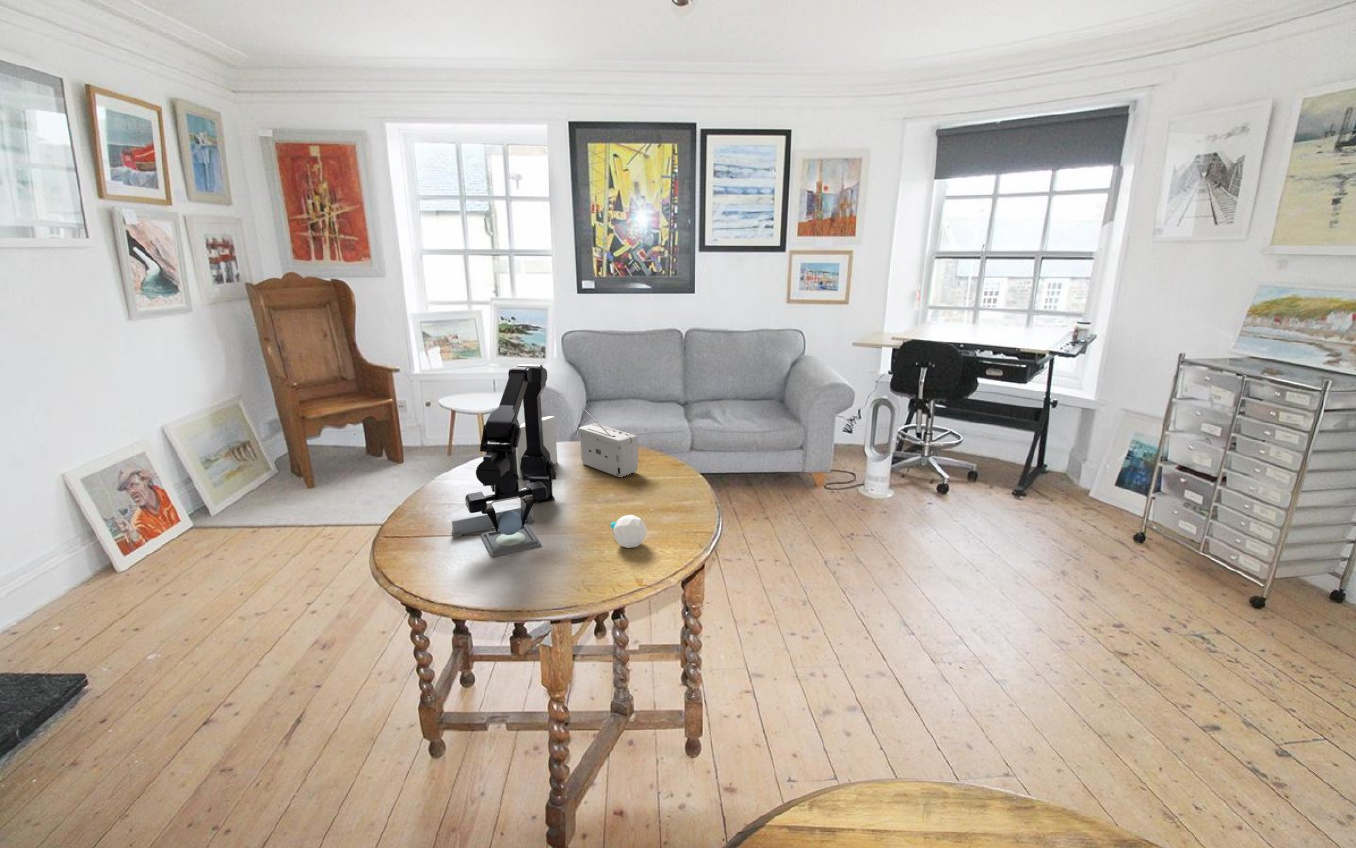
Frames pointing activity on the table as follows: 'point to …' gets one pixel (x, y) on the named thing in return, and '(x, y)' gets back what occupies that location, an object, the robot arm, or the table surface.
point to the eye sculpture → (548, 441)
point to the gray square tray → (510, 541)
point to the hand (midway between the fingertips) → (509, 528)
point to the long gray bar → (480, 522)
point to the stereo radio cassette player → (608, 449)
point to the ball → (509, 522)
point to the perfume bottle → (629, 531)
